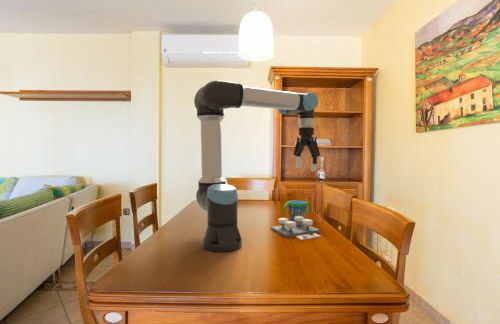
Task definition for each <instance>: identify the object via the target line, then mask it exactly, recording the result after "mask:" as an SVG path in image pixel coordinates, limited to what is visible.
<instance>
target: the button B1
mask: <svg viewBox="0 0 500 324" xmlns="http://www.w3.org/2000/svg"><path fill="white" fill-rule="evenodd" d="M313 222H314V221H313V220H312V219H309V218H305V219H303V220H302V222H301V223H302V224H303V225H306V228H309V226H313Z"/></svg>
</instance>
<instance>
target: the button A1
mask: <svg viewBox="0 0 500 324" xmlns="http://www.w3.org/2000/svg"><path fill="white" fill-rule="evenodd" d="M296 224H297V222H294V221H290V220H288V221H287V222H286V224H285V225H286V227H288V228H289V230H292V228H295V227H296Z"/></svg>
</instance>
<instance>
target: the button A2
mask: <svg viewBox="0 0 500 324" xmlns="http://www.w3.org/2000/svg"><path fill="white" fill-rule="evenodd" d="M277 221H278V223H277V224H279V225H281V226H282V227H285V225H286V222H287V221H289V219H288V218H287V217H280V218H278V220H277Z"/></svg>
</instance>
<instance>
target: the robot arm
mask: <svg viewBox="0 0 500 324" xmlns="http://www.w3.org/2000/svg"><path fill="white" fill-rule="evenodd" d="M193 100H194V101H193V102H194V107H195V109H196V118H197V119H198V120H199V121H200V141H201V142H200V145H201V146H200V148H201V150H200V152H201V153H200V155H201V177H200V179H199V180H198V181H197V182H198V189H197V191H196V195H195V199H196V201H197V202H196V203H198V205H199V207H200V208H201V209H202V210H204V211H206V212H207V215H206V216H207V217H206V218H207V221H206V222H207V225H206V226H207V228H206V231H205V232H204V233H205V234H204V236H203V239H202V247H203V248H204V249H205V250H207V251H210V252H215V253H216V252H217V253H226V252H232V251H236V250H238V249H240V248H241V247H242V245H243V244H242V242H243V239H242V235H241V233H240V230H239V227H238V199H239V195H238V190H237V187H235V185H232V184H226V179H225V178H224V177H223V175H222V174H223V171H222V169H223V168H222V166H223V165H222V121H223V120H224V118H225V110H226V109H233V108H234V109H240V108H241V107H250V108H251V107H252V108H253V107H254V108H263V109H276V110H277V112H278V113H279V114H281V115H282V114H283V115H293V116H294V115H296V116H298V127H299V128H298V135H299V137H297V138H296V144H295V147H294V149H293V156H295V169H296V170H301V169H302V153H303V152H304V149H305V147H307V149H308V151H309V154H310V155H311V157H310V172H317V164H318V157H320V156H321V153H320V149H319V145H318V142H317V136H314V134H315V128H314V126H315V109H316V108H317V107H318V105H319V97H318V95H317V94H316V93H314V92H312V91H311V92H310V91H309V92H305V93H300V92H292V91H286V90H285V91H284V90H276V89H275V90H274V89H267V88H259V87H253V86H252V87H251V86H245V85H243V84H242V82H241V83H240V82H234V81H227V80H212V81H209V82H207V83H206V84H205V85H204V86H202V87H200V88H199V89H198V90H197V91H196V94H195V96H194V99H193Z"/></svg>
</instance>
